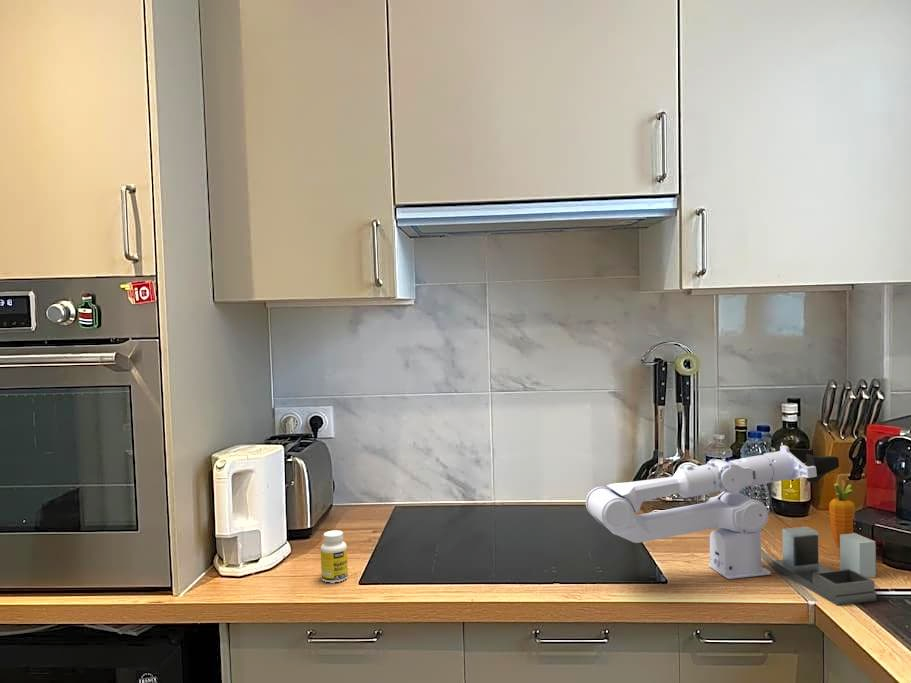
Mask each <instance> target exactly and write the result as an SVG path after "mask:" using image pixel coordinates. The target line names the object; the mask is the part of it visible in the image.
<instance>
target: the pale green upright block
mask: <svg viewBox="0 0 911 683" xmlns="http://www.w3.org/2000/svg"><path fill="white" fill-rule="evenodd" d="M842 569H852V570H854V571H856V572H857V573H859V574H861V575H863V576H865V577H867V578H874V577H875V578H876V575H877V574H876V573H877V544H876V541H875V540H873V539H870V538H868V537H865V536H863V535H860V534H858V533H856V532H853V533H851V534H841V535H840V549H839V570H842Z"/></svg>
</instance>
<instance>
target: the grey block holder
mask: <svg viewBox="0 0 911 683" xmlns="http://www.w3.org/2000/svg"><path fill="white" fill-rule="evenodd" d="M781 535H782V537H781V538H782V559H776V560H772V568H773V569H774V570H775V571H777V572H779V573H780V574H782V575H784V576H786V577H787V578H789V579H791V581H792V580H793V581H794V582H796V583H797V584H799V585H800V586H802V587H804V588H807V589H808V590H810V591H811V592H813V593H815V594H817V595H818V596H819V597H821V598H824V599H825V600H826V601H829V602H830V603H832V604H834V605H836V606H842V605H852V604H859V603H867V602H868V603H869V602H877V592H876V591H875V580H873V579H871V578H870V577H868V578H867V577H865V576H863V575H861V574H859V573H857V572H856V571H854V570H852V569H835V570H834V569H832V568H830V567H828V566H826V565H824V564H822V563H820V560H819V556H820V555H819V554H820V552H819V531H817V530H816V529H814V528H811V527H810V526H798V527H789V528H782V533H781Z"/></svg>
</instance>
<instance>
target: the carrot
mask: <svg viewBox="0 0 911 683" xmlns="http://www.w3.org/2000/svg"><path fill="white" fill-rule="evenodd" d="M833 485H834V489H835V492H836V493H835V495H836V498H833V499H832V500H831V501H830V502H829V504H828V509H829V510H828V511H829V523H830V529H831V533H832V538H833V539H834V542H835V544H836V546H837V548H838V550H840V535H841V534H851V533H854V528H853V519H854V520H855V517H856V516H855V515H856V514H855V513H856V512H855V511H856V505H855V502H853V500H850V499H847V498H848V496H849V495H850V494H852V493H854V492H853V491H854V490H853V489H851V488H852V484H848V485H847V486H846V488H845V491H843V489H842V488H841V486H840V484H839V483H834V484H833Z"/></svg>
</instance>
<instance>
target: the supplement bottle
mask: <svg viewBox="0 0 911 683" xmlns="http://www.w3.org/2000/svg"><path fill="white" fill-rule="evenodd" d="M343 540H344V532H343V531H342V530H335V529H334V530H329V531H326V532H324V533H323V541H324V542H323V543H322V544H321V545H320V563H321V564H320V566H321V580H322V582H324V581H325V582H324V583H326V582H330V583H329V584H336V583H335V582H339V583H341V582H340V581H342V582H344V581H346V580H347V579H348V576H349V574H348V573H349V572H348V547H347V543H346V542H345V541H343ZM345 579H346V580H345ZM343 580H344V581H343Z"/></svg>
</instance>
